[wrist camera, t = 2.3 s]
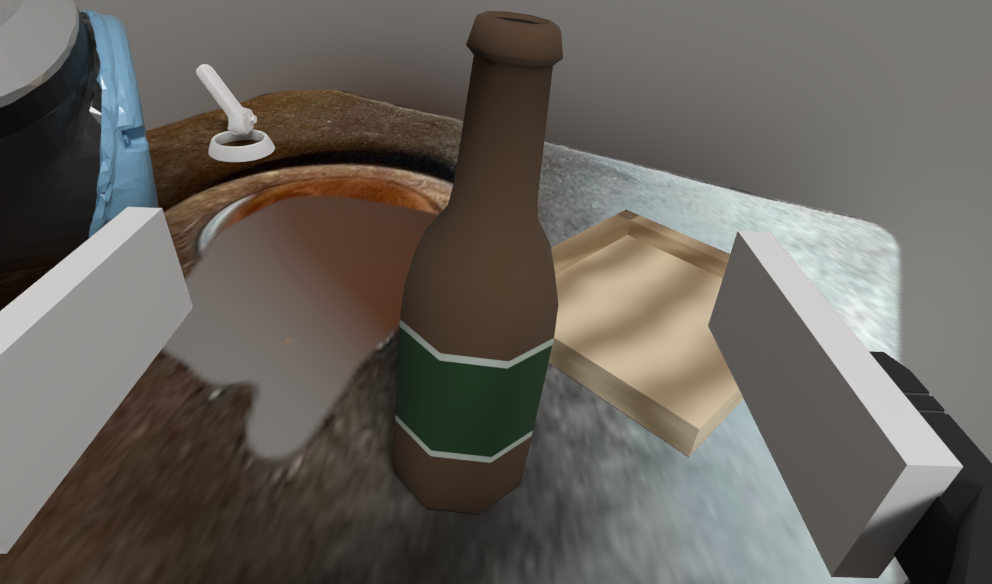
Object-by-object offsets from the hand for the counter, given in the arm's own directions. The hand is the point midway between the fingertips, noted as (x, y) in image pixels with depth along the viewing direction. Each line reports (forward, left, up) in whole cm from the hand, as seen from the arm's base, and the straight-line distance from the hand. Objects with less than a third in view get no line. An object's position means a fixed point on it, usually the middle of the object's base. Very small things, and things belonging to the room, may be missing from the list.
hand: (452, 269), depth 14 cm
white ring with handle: (-61, +19, -21) cm, 68 cm away
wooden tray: (-7, +27, -21) cm, 35 cm away
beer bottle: (-7, +7, -20) cm, 23 cm away
